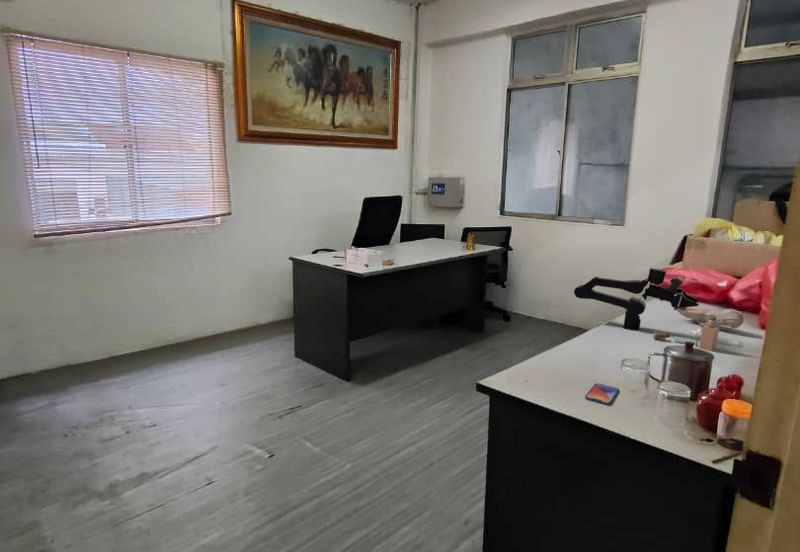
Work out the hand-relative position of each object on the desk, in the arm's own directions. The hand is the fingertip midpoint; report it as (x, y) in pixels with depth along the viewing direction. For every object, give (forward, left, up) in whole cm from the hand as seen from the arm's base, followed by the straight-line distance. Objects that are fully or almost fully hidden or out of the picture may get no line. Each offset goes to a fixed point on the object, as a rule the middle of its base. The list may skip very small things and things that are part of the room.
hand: (698, 303), depth 216 cm
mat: (-3, -7, -17) cm, 18 cm away
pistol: (+10, +8, -17) cm, 22 cm away
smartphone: (-30, -89, -17) cm, 96 cm away
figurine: (+8, +29, -17) cm, 35 cm away
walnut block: (-13, -10, -17) cm, 24 cm away
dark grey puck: (-12, -2, -17) cm, 21 cm away
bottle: (+5, -12, -17) cm, 21 cm away
